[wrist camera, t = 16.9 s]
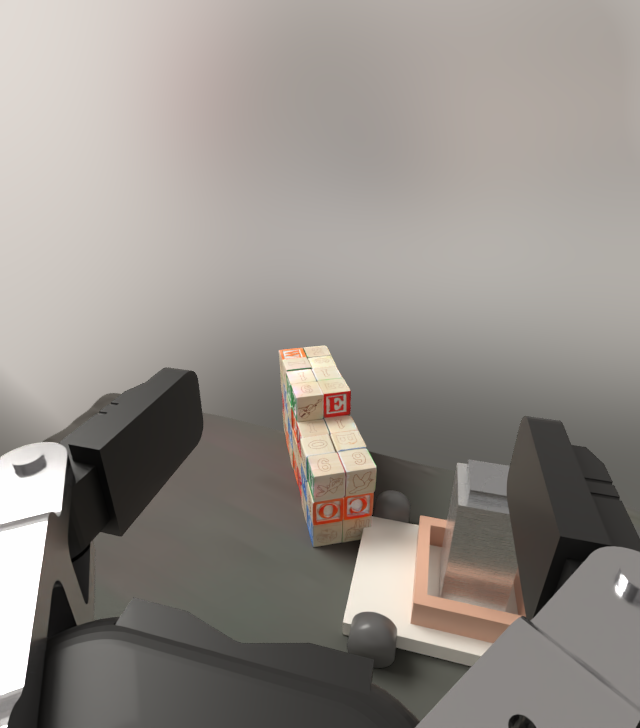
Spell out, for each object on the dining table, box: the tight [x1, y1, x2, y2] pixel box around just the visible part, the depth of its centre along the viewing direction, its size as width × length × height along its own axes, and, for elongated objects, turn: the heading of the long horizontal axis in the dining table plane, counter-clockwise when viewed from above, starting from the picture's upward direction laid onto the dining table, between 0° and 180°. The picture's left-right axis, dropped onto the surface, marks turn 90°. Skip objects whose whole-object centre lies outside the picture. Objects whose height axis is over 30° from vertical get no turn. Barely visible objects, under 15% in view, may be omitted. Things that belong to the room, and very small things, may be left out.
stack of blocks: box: [279, 346, 377, 547], centre depth 52 cm, size 21×6×12 cm, turn 12°
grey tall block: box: [439, 460, 518, 612], centre depth 37 cm, size 5×5×12 cm
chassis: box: [342, 490, 526, 668], centre depth 39 cm, size 20×16×4 cm
